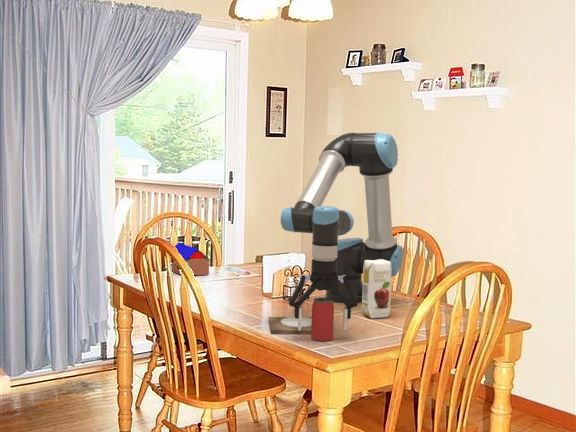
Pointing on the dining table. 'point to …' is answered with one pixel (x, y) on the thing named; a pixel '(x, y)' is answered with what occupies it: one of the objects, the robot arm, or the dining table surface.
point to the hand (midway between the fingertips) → (322, 329)
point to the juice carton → (376, 288)
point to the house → (193, 260)
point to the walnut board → (280, 329)
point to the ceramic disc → (296, 322)
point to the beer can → (322, 319)
